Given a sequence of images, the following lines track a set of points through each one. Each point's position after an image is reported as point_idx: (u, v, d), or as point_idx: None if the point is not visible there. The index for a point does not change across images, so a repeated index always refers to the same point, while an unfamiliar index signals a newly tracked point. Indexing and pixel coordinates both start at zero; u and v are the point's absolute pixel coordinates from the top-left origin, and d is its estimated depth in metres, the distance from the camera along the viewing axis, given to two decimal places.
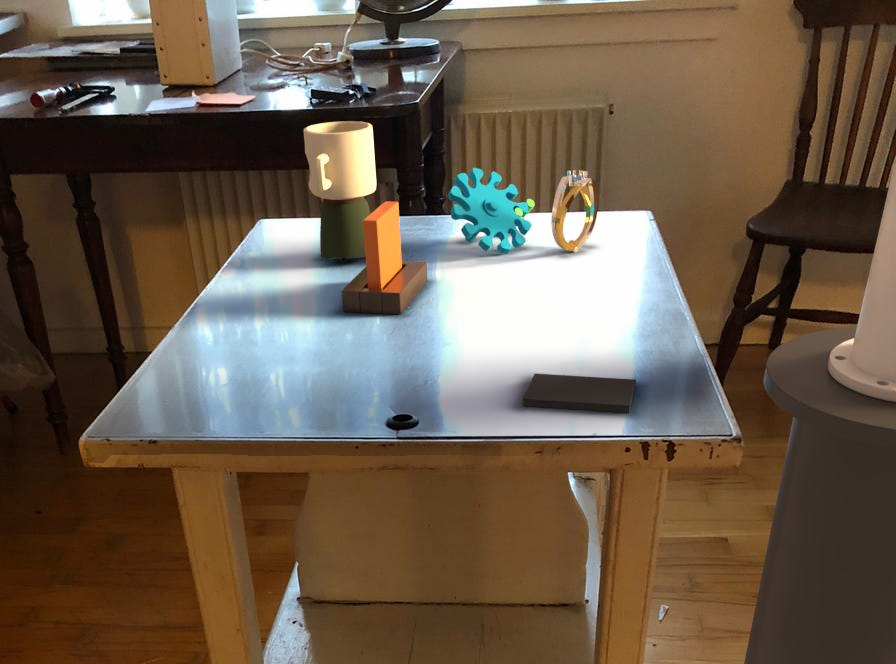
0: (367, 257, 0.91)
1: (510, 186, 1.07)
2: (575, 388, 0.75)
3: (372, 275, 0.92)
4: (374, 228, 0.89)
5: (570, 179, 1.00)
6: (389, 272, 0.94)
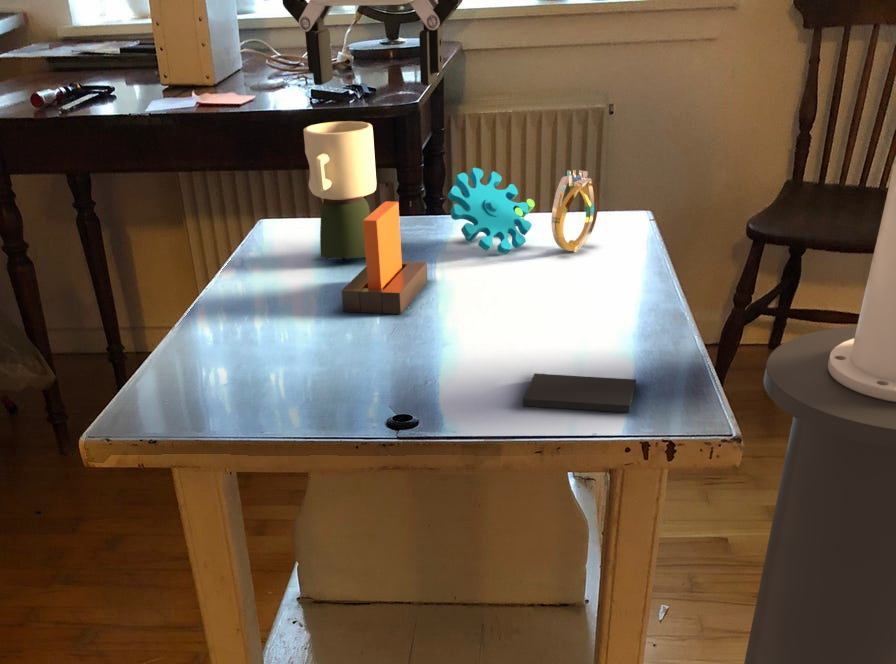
0: (367, 257, 0.91)
1: (510, 186, 1.07)
2: (575, 388, 0.75)
3: (372, 275, 0.92)
4: (374, 228, 0.89)
5: (570, 179, 1.00)
6: (389, 272, 0.94)
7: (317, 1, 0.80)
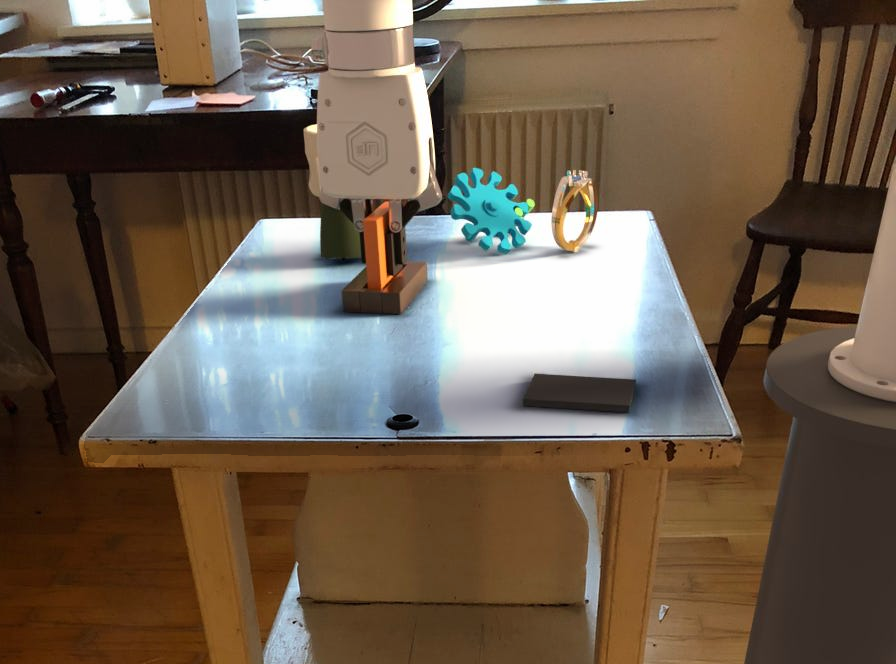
0: (367, 257, 0.91)
1: (510, 186, 1.07)
2: (575, 388, 0.75)
3: (372, 275, 0.92)
4: (374, 228, 0.89)
5: (570, 179, 1.00)
6: None
7: (331, 194, 0.89)
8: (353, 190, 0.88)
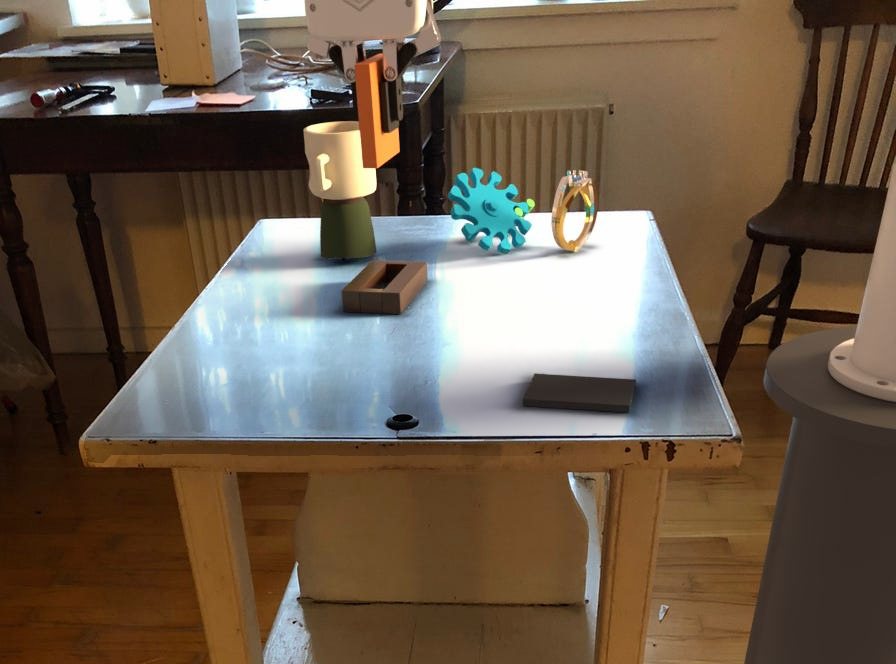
0: (359, 108, 0.83)
1: (510, 186, 1.07)
2: (575, 388, 0.75)
3: (365, 129, 0.84)
4: (367, 74, 0.81)
5: (570, 179, 1.00)
6: None
7: (319, 37, 0.82)
8: (343, 29, 0.81)
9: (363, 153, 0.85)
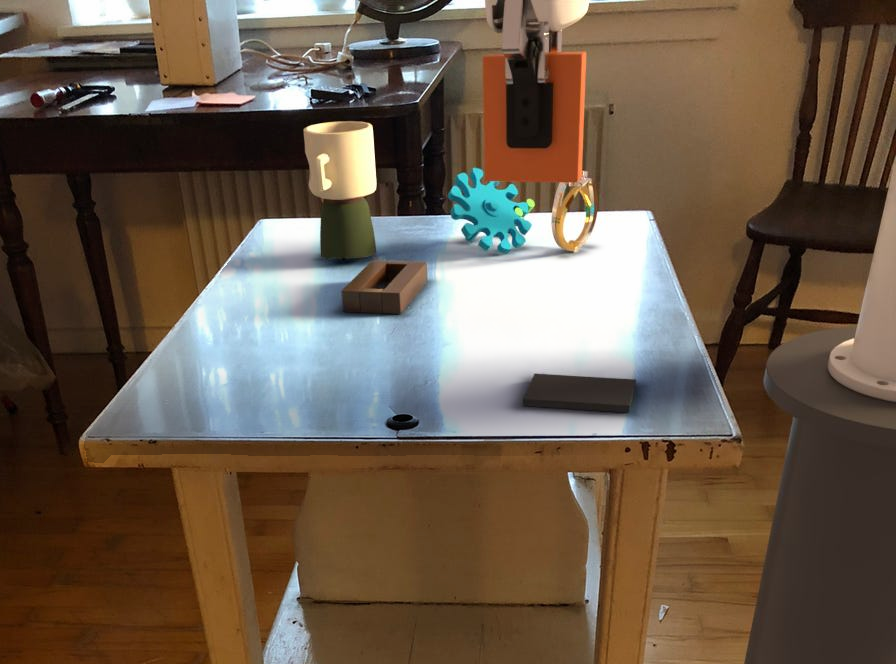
0: (580, 108, 0.67)
1: (510, 186, 1.07)
2: (575, 388, 0.75)
3: (581, 133, 0.68)
4: (585, 63, 0.66)
5: None
6: None
7: (559, 26, 0.62)
8: (570, 13, 0.63)
9: (579, 163, 0.69)
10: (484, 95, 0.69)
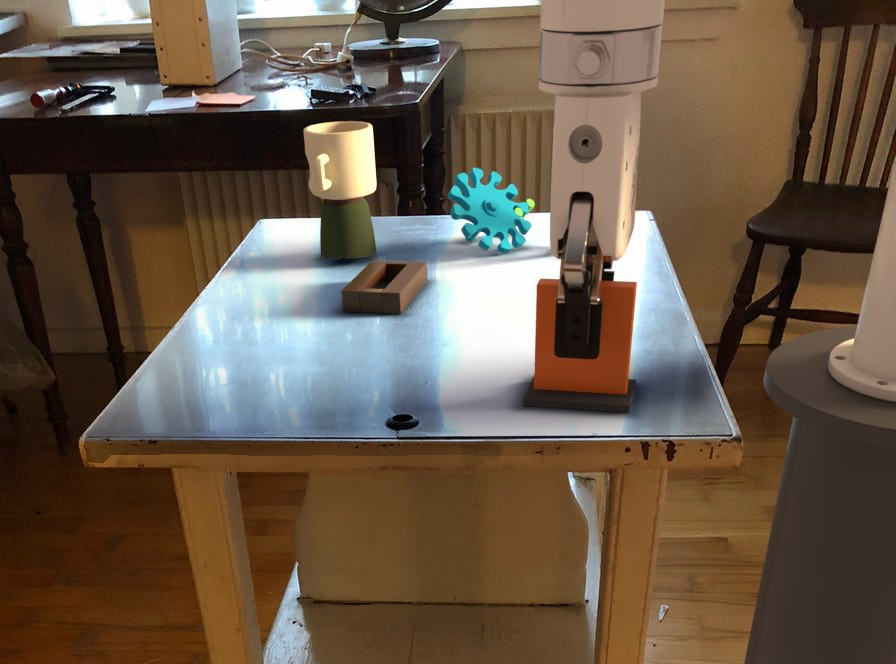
0: (631, 332, 0.71)
1: (510, 186, 1.07)
2: None
3: (630, 352, 0.72)
4: (635, 292, 0.70)
5: None
6: None
7: (620, 257, 0.65)
8: (627, 240, 0.66)
9: (627, 378, 0.73)
10: (537, 316, 0.72)
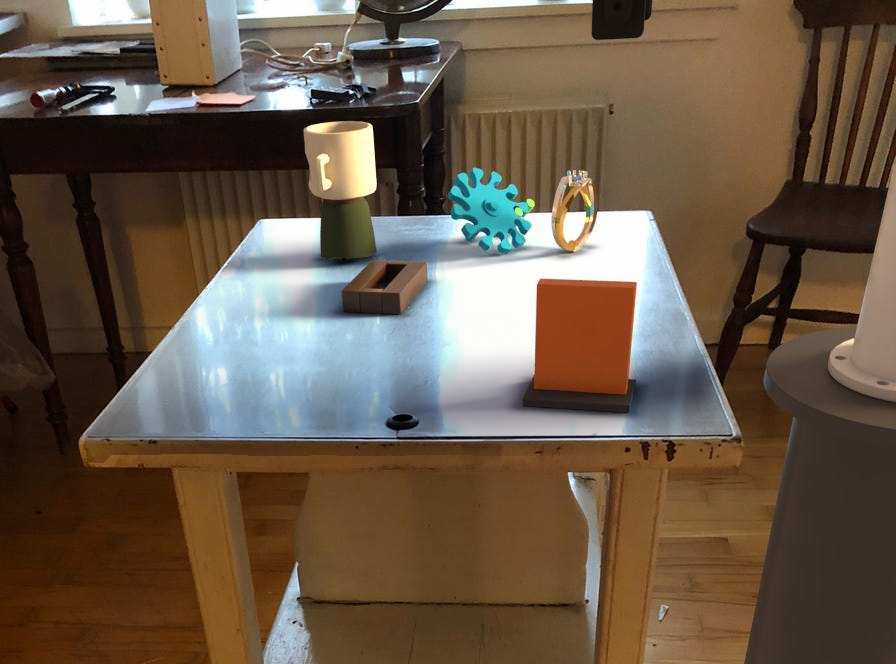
0: (631, 332, 0.71)
1: (510, 186, 1.07)
2: None
3: (630, 352, 0.72)
4: (635, 292, 0.70)
5: (570, 179, 1.00)
6: None
7: None
8: None
9: (627, 378, 0.73)
10: (537, 316, 0.72)
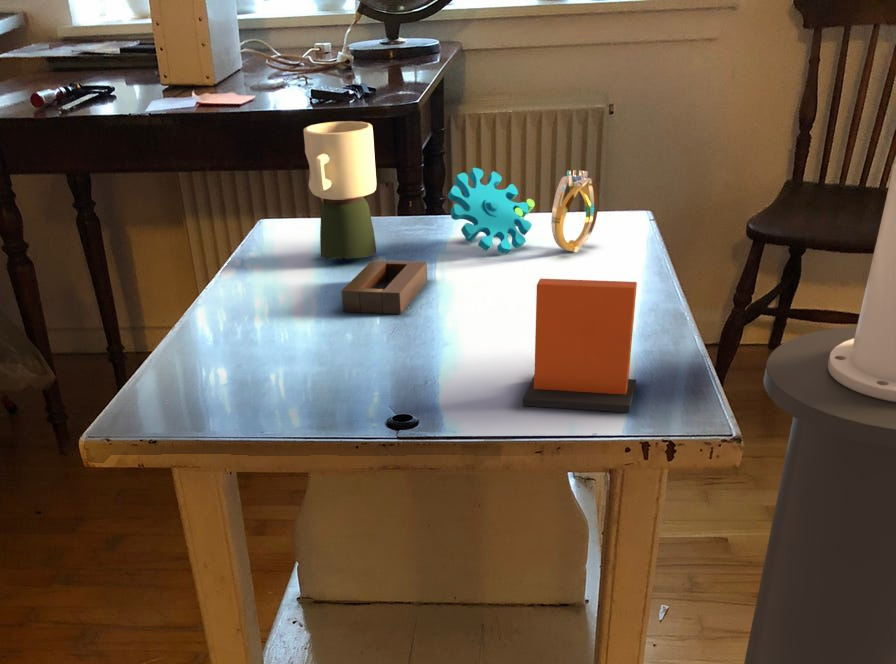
0: (631, 332, 0.71)
1: (510, 186, 1.07)
2: None
3: (630, 352, 0.72)
4: (635, 292, 0.70)
5: (570, 179, 1.00)
6: None
7: None
8: None
9: (627, 378, 0.73)
10: (537, 316, 0.72)
